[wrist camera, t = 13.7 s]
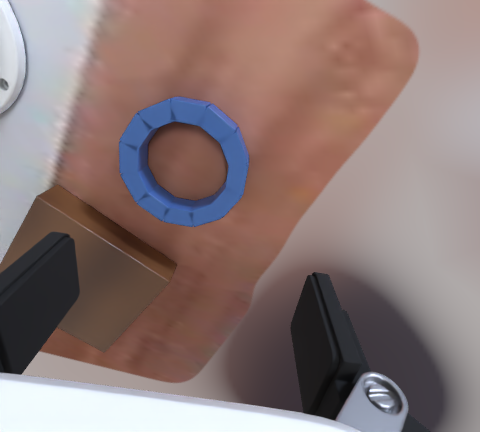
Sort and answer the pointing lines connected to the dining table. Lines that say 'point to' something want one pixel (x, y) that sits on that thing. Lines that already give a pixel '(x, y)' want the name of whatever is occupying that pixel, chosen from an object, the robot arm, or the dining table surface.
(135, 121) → the ring
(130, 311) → the platform
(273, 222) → the dining table surface
